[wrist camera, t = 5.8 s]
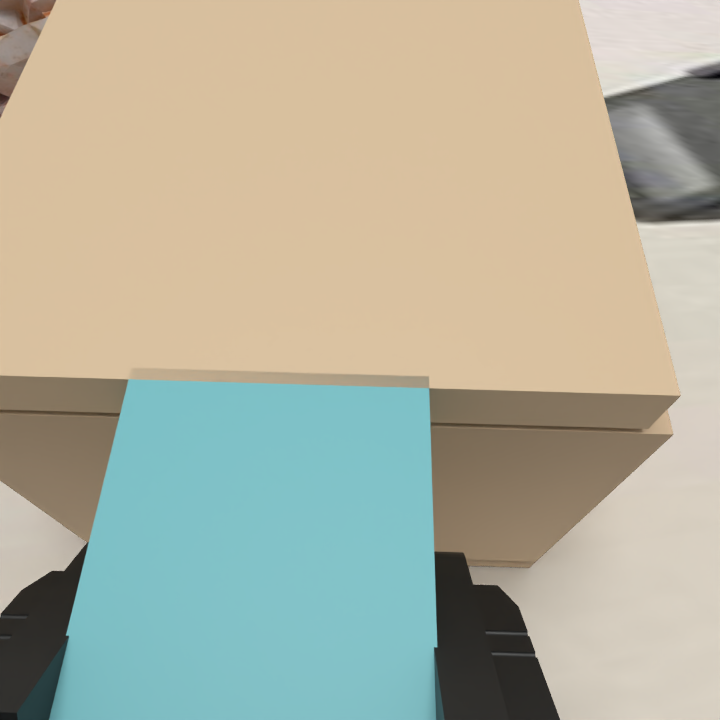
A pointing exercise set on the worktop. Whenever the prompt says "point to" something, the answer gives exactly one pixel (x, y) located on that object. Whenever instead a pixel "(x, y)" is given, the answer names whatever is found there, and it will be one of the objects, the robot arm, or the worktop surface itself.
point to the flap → (304, 320)
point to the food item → (18, 39)
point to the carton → (449, 476)
